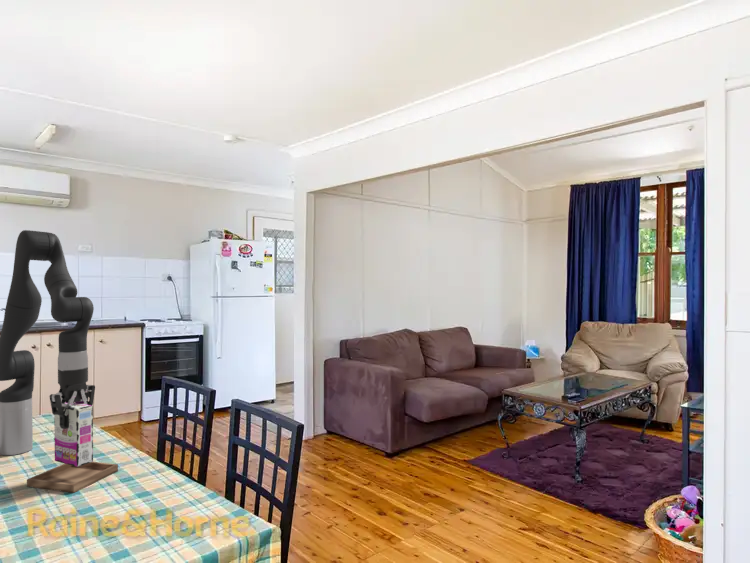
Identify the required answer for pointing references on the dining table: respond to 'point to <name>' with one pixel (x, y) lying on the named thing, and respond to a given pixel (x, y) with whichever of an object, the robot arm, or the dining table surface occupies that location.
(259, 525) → the dining table surface
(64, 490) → the walnut tray
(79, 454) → the candy bar box
